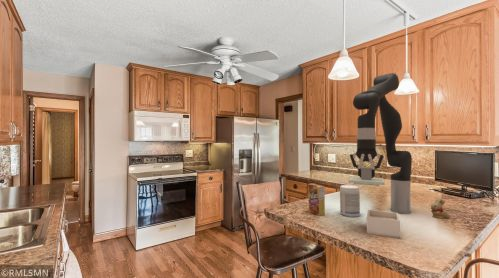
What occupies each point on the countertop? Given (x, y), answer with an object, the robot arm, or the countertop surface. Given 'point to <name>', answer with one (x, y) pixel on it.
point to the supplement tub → (349, 200)
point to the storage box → (383, 223)
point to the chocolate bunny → (439, 210)
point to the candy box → (316, 199)
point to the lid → (366, 178)
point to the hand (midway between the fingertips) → (366, 177)
